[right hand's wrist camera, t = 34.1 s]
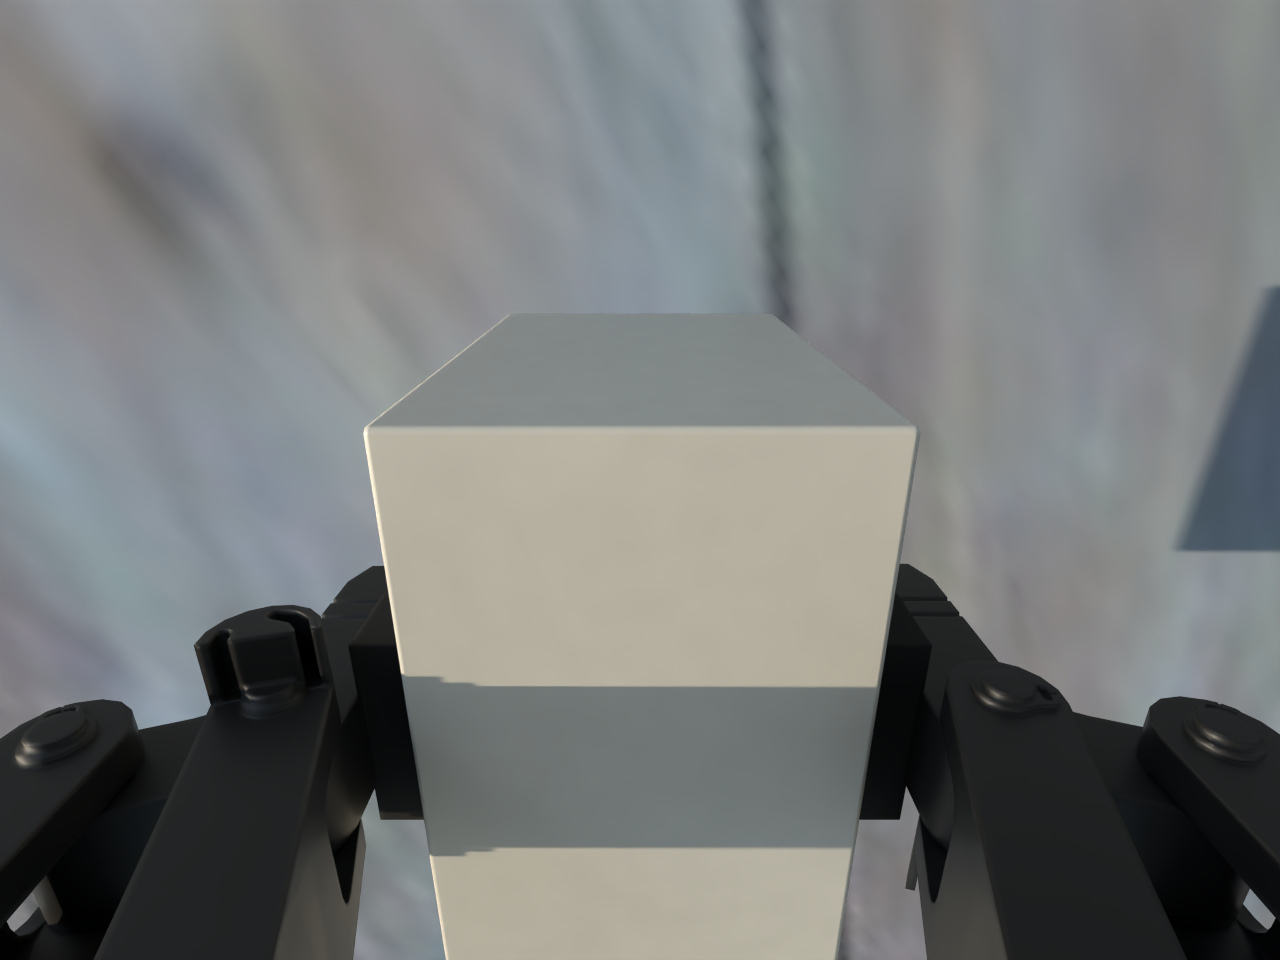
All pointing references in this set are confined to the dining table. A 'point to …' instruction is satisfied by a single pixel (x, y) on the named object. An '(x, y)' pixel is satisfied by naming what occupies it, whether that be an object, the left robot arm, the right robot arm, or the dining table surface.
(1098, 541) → the dining table surface
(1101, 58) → the dining table surface
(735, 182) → the dining table surface
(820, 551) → the block
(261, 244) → the dining table surface
